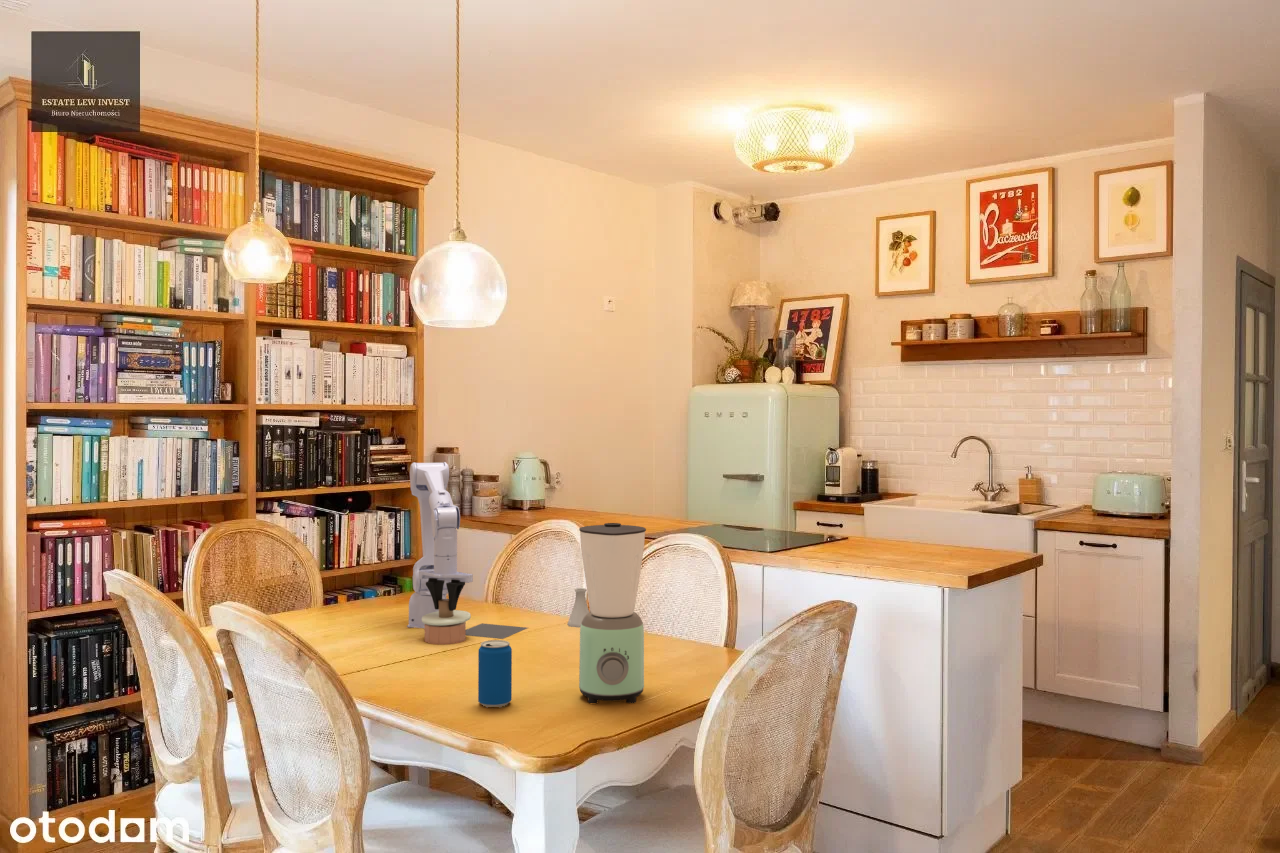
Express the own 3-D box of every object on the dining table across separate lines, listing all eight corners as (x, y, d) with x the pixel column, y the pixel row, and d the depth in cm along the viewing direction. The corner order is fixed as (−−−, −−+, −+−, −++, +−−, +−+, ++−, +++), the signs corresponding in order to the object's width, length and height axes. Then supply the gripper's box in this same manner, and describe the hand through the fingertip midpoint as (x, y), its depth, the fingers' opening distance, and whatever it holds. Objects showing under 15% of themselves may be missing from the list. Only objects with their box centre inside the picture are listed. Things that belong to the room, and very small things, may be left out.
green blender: (648, 708, 193) (649, 528, 193) (578, 709, 192) (580, 528, 192) (640, 682, 212) (641, 518, 212) (577, 683, 211) (578, 518, 211)
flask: (595, 623, 271) (595, 587, 271) (591, 629, 264) (592, 591, 264) (569, 622, 272) (569, 586, 271) (564, 628, 264) (565, 591, 264)
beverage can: (479, 699, 198) (479, 639, 198) (512, 699, 199) (512, 639, 199) (476, 709, 192) (477, 647, 192) (510, 708, 192) (511, 646, 192)
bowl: (416, 643, 246) (416, 625, 246) (438, 635, 255) (438, 617, 255) (451, 647, 243) (452, 628, 243) (472, 638, 252) (473, 620, 252)
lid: (412, 623, 246) (411, 604, 246) (440, 611, 257) (439, 593, 257) (452, 627, 241) (452, 607, 241) (479, 615, 252) (479, 596, 252)
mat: (454, 635, 255) (454, 634, 255) (481, 624, 268) (481, 623, 268) (502, 640, 250) (502, 638, 250) (528, 629, 263) (528, 627, 263)
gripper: (411, 555, 248) (411, 610, 248) (462, 559, 242) (462, 614, 243) (427, 551, 254) (427, 604, 254) (477, 555, 249) (476, 609, 249)
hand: (445, 609), depth 249 cm, fingers closed on lid, 3 cm apart
